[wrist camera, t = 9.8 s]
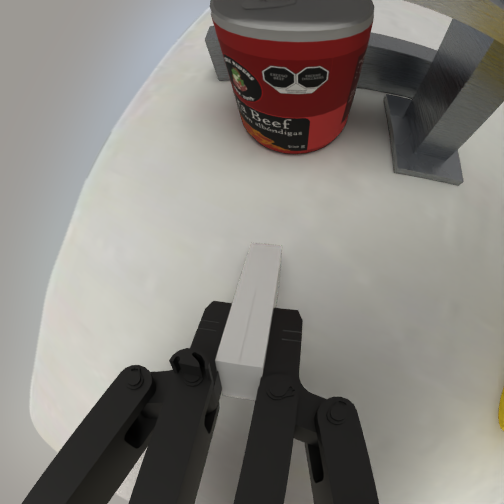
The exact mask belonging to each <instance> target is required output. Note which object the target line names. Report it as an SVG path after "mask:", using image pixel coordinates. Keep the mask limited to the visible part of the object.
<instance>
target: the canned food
mask: <svg viewBox="0 0 504 504" xmlns="http://www.w3.org/2000/svg"><path fill="white" fill-rule="evenodd" d="M210 9H211V17H212V20H213V23H214V26H215V31H216V35H217V38H218V41H219V44H220V47H221V51H222V54H223V57H224V61H225V64H226V67H227V71H228V74H229V77H230V81H231V84H232V88H233V91H234V95H235V98H236V101H237V105H238V108H239V112H240V115H241V119H242V122H243V125H244V127H245V128H246V130H247V131H248V133H249V134H251V135H252V136H253V137H254V138H255V139H256V140H257V141H258V142H259V143H260V144H262V145H264V146H265V147H267V148H270V149H272V150H274V151H278V152H283V153H291V154H299V153H308V152H312V151H316V150H318V149H320V148H322V147H325V146H326V145H327V144H329V143H330V142H332V141H333V140H334V139H335V138H336V137H337V136H338V135H339V134H340V133H341V132H342V130H343V128H344V126H345V124H346V121H347V118H348V114H349V111H350V108H351V104H352V101H353V98H354V94H355V91H356V87H357V84H358V80H359V77H360V73H361V69H362V66H363V62H364V58H365V54H366V50H367V47H368V43H369V39H370V33H371V28H372V24H373V18H374V5H373V2H372V0H211V1H210Z"/></svg>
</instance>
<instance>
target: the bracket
mask: <svg viewBox="0 0 504 504" xmlns="http://www.w3.org/2000/svg"><path fill="white" fill-rule="evenodd" d="M404 1H407V2H410V3H414V4H417V5H420V6H423V7H425V8H428V9H431V10H434V11H436V12H439V13H441V14H444V15H446V16H449V17H451V18H453V19H452V21H451V23H450V26H449V28H448V30H447V32H446V34H445V36H444V39H443V41H442V43H441V45H440V47H439V49H438V51H436V50H434V49H431V48H428V47H425V46H422V45H418V44H415V43H412V42H408V41H405V40H401V39H397V38H393V37H389V36H385V35H381V34H376V33H370V39H369V43H368V47H367V50H366V54H365V58H364V62H363V66H362V69H361V73H360V77H359V80H358V84H357V87H360V88H366V89H372V90H377V91H383V92H387V93H392V94H397V95H401V96H405V97H409V98H413V99H412V100H410V99H406V98H402V97H398V96H393V95H389V94H386V96H385V98H384V103H385V109H386V114H387V120H388V126H389V133H390V140H391V147H392V156H393V165H394V173H399V174H405V175H411V176H416V177H421V178H426V179H431V180H436V181H441V182H445V183H450V184H454V185H458V186H459V185H460V184H461V183H463V176H462V170H461V165H460V160H459V155H458V149H459V148H460V147H461V146H462V145H463V144H464V143H465V142H466V141H467V140H468V139H469V138H470V137H471V135H472V134H473V133H474V132H475V131H476V130H477V129H478V128H479V127H480V126H481V125H482V124H483V123H484V122H485V121H486V120H487V119H488V118H489V117H490V116H491V115H492V113H493V112H494V111H495V110H496V109H497V108H498V107H499V106H500V105H501V104H502V103H503V101H504V0H404ZM205 42H206V45H207V48H208V51H209V54H210V56H211V59H212V62H213V65H214V68H215V71H216V74H217V77H218V80H219V81H222V80H230V77H229V74H228V71H227V67H226V64H225V61H224V57H223V54H222V51H221V47H220V44H219V41H218V38H217V35H216V31H215V26H210V28H209V30H208V33H207V35H206V38H205Z"/></svg>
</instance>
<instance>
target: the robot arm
mask: <svg viewBox="0 0 504 504" xmlns="http://www.w3.org/2000/svg"><path fill="white" fill-rule="evenodd" d="M281 254H282V246H280V245H270V244H260V243H251V244H250V247H249V250H248V254H247V257H246V260H245V263H244V267H243V270H242V273H241V277H240V280H239V283H238V286H237V290H236V293H235V296H234V300H233V303H225V302H218V301H213V302H212V303H211V304H210V305H209V306H208V307H207V308H206V309H205V311H204V313H203V316H202V318H201V321H200V324H199V326H198V329H197V331H196V334H195V337H194V339H193V342H192V345H191V347H190V348H186V349H183V350H179V351H178V352H176V353H175V354H174V355H173V356H172V357H171V359H170V360H169V361H170V364H171V366H172V368H173V370H170V371H161V372H150V371H149V370H147V369H146V368H145V367H143V366H140V365H132V366H129V367H127V368H125V369H124V370H123V371H122V372H121V373H120V374H119V375H118V377H117V378H116V379H115V380H114V382H113V383H112V384H111V385H110V387H109V388H108V389H107V390H106V392H105V393H104V394H103V395H102V397H101V398H100V399H99V401H98V402H97V403H96V404H95V406H94V407H93V408H92V409H91V411H90V412H89V413H88V415H87V416H86V417H85V418H84V420H83V421H82V422H81V424H80V425H79V426H78V428H77V429H76V430H75V431H74V433H73V434H72V435H71V437H70V438H69V439H68V441H67V442H66V443H65V445H64V446H63V447H62V449H61V450H60V451H59V453H58V454H57V455H56V457H55V458H54V460H53V461H52V462H51V463H50V465H49V466H48V468H47V469H46V471H45V472H44V473H43V474H42V476H41V477H40V479H39V480H38V481H37V483H36V484H35V485H34V487H33V488H32V490H31V491H30V492H29V494H28V495H27V497H26V498H25V500H24V501H23V502H22V504H107V503H108V502H109V501H110V499H111V498H112V496H113V495H114V494H115V492H116V491H117V489H118V488H119V487H120V485H121V484H122V482H123V481H124V479H125V478H126V477H127V475H128V474H129V472H130V471H131V469H132V468H133V467H134V465H135V464H136V462H137V461H138V459H139V458H140V456H141V455H142V453H143V452H144V451H145V449H146V448H147V446H148V448H147V450H146V453H145V456H144V459H143V462H142V465H141V468H140V471H139V474H138V477H137V480H136V483H135V486H134V489H133V492H132V495H131V498H130V501H129V504H194V503H195V499H196V496H197V492H198V488H199V484H200V481H201V477H202V473H203V469H204V466H205V462H206V458H207V454H208V450H209V447H210V443H211V439H212V435H213V431H214V427H215V424H216V420H217V416H218V412H219V399H220V395H221V391H222V395H224V396H229V397H235V398H241V399H248V400H255V406H254V411H253V416H252V421H251V426H250V431H249V436H248V441H247V446H246V450H245V455H244V460H243V464H242V469H241V473H240V478H239V482H238V487H237V491H236V495H235V500H234V504H284V498H285V493H286V486H287V480H288V474H289V467H290V460H291V453H292V446H293V438H295V439H297V440H300V441H302V442H305V448H306V455H307V461H308V467H309V473H310V479H311V486H312V492H313V499H314V504H379V501H378V496H377V491H376V487H375V482H374V477H373V473H372V469H371V464H370V460H369V456H368V452H367V448H366V444H365V440H364V436H363V432H362V428H361V424H360V421H359V417H358V413H357V410H356V408H355V406H354V404H353V403H352V402H350V401H349V400H348V399H345V398H342V397H332V398H329V399H325V398H322V397H319V396H317V395H314V394H312V393H310V392H308V391H307V390H306V389H305V388H304V387H303V386H302V384H301V382H300V379H299V365H300V352H301V338H302V322H303V320H302V318H301V316H300V314H299V311H298V310H290V309H280V308H276V303H277V296H278V289H279V278H280V266H281Z"/></svg>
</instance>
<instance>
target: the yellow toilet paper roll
mask: <svg viewBox="0 0 504 504" xmlns="http://www.w3.org/2000/svg"><path fill="white" fill-rule="evenodd" d="M498 418H499V424H500V427H501V429H502V430H503V431H504V388H503V392H502V395H501V400H500V405H499V413H498Z"/></svg>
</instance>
